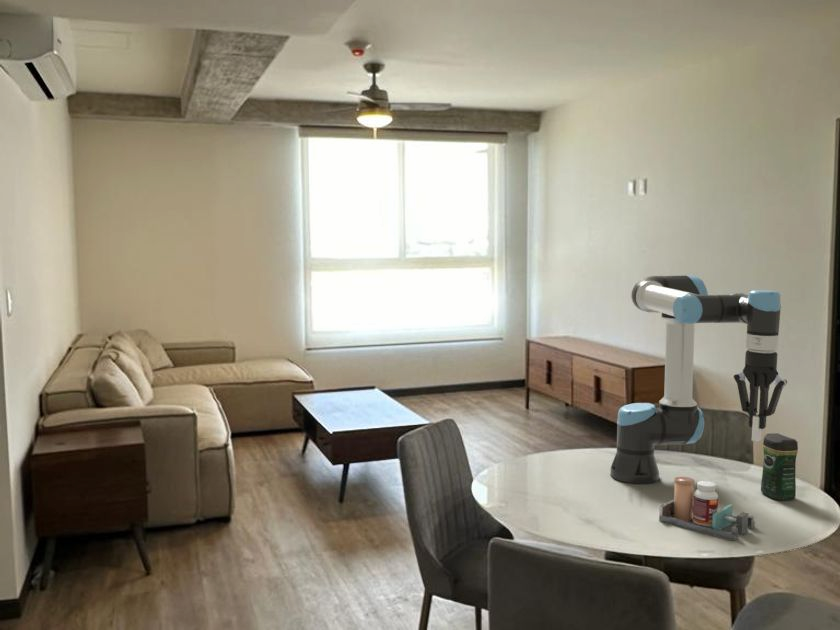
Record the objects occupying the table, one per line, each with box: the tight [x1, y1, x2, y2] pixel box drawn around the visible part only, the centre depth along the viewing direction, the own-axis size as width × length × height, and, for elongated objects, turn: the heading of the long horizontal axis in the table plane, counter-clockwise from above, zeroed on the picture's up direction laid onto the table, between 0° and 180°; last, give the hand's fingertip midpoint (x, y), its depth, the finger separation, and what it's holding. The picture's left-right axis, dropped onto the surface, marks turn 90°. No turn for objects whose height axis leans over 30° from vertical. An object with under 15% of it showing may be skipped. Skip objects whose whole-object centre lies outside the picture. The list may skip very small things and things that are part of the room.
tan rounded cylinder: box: [673, 476, 695, 522], centre depth 214 cm, size 5×5×11 cm
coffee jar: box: [760, 432, 799, 501], centre depth 232 cm, size 10×8×19 cm
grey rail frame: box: [658, 498, 756, 542], centre depth 210 cm, size 20×14×4 cm, turn 46°
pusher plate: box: [711, 503, 749, 536], centre depth 205 cm, size 6×11×5 cm, turn 136°
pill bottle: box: [692, 480, 719, 528], centre depth 210 cm, size 6×6×11 cm
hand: (756, 440), depth 202 cm, fingers closed
